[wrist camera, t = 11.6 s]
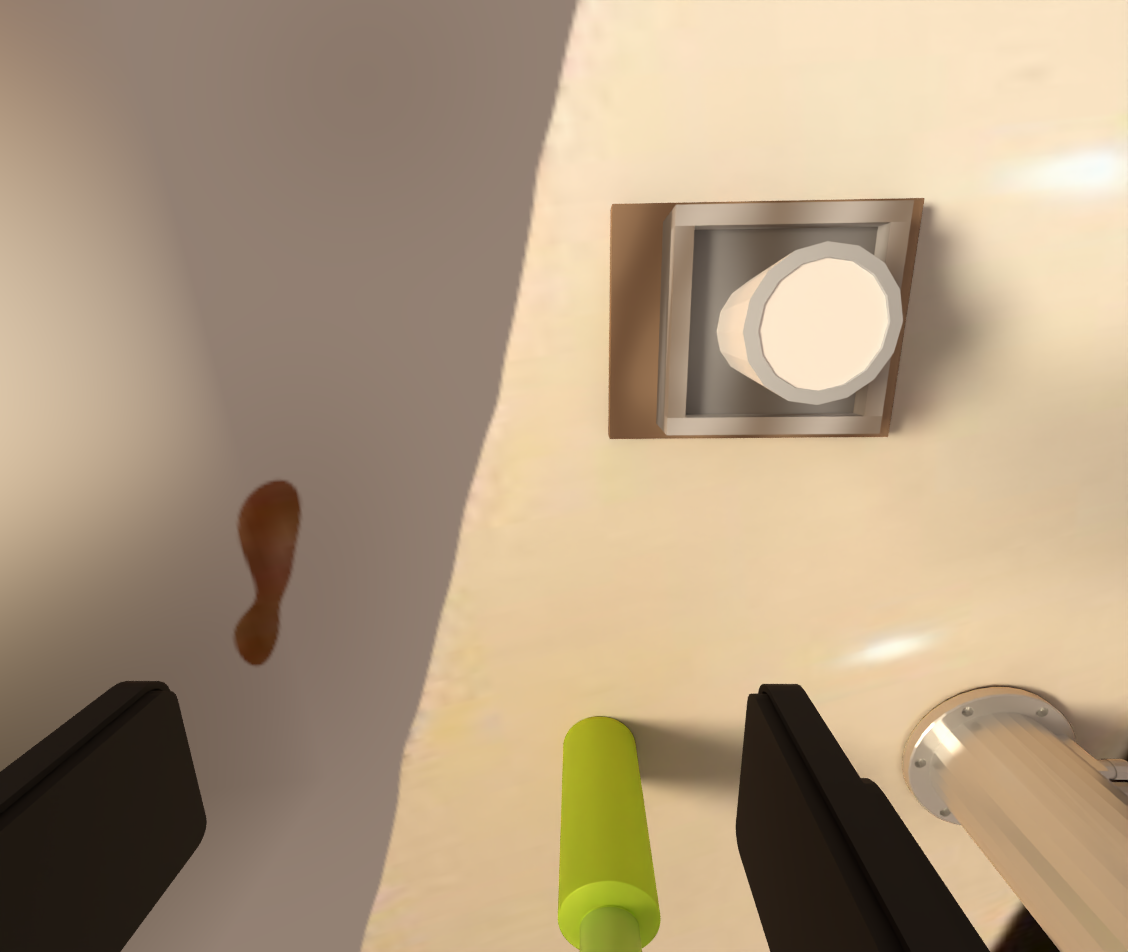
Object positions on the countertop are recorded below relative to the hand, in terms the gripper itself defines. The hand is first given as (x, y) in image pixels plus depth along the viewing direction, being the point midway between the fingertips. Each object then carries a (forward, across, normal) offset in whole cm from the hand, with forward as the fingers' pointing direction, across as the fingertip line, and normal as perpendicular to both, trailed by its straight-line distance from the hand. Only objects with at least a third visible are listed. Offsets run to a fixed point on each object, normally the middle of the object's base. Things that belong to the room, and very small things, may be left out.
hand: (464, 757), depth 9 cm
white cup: (+24, -13, -7) cm, 28 cm away
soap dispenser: (+28, -4, +26) cm, 39 cm away
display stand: (+28, -13, -7) cm, 32 cm away
